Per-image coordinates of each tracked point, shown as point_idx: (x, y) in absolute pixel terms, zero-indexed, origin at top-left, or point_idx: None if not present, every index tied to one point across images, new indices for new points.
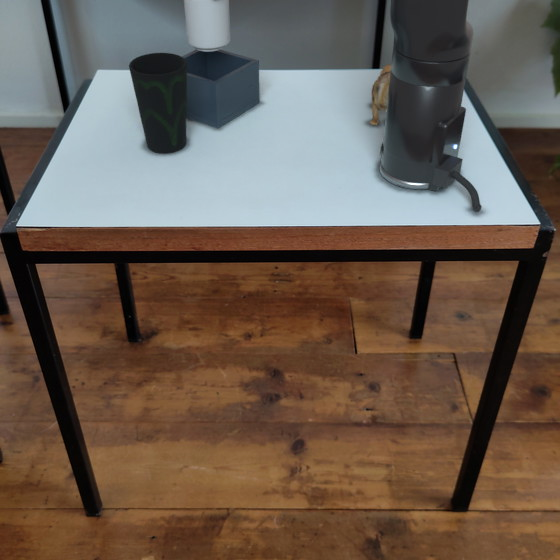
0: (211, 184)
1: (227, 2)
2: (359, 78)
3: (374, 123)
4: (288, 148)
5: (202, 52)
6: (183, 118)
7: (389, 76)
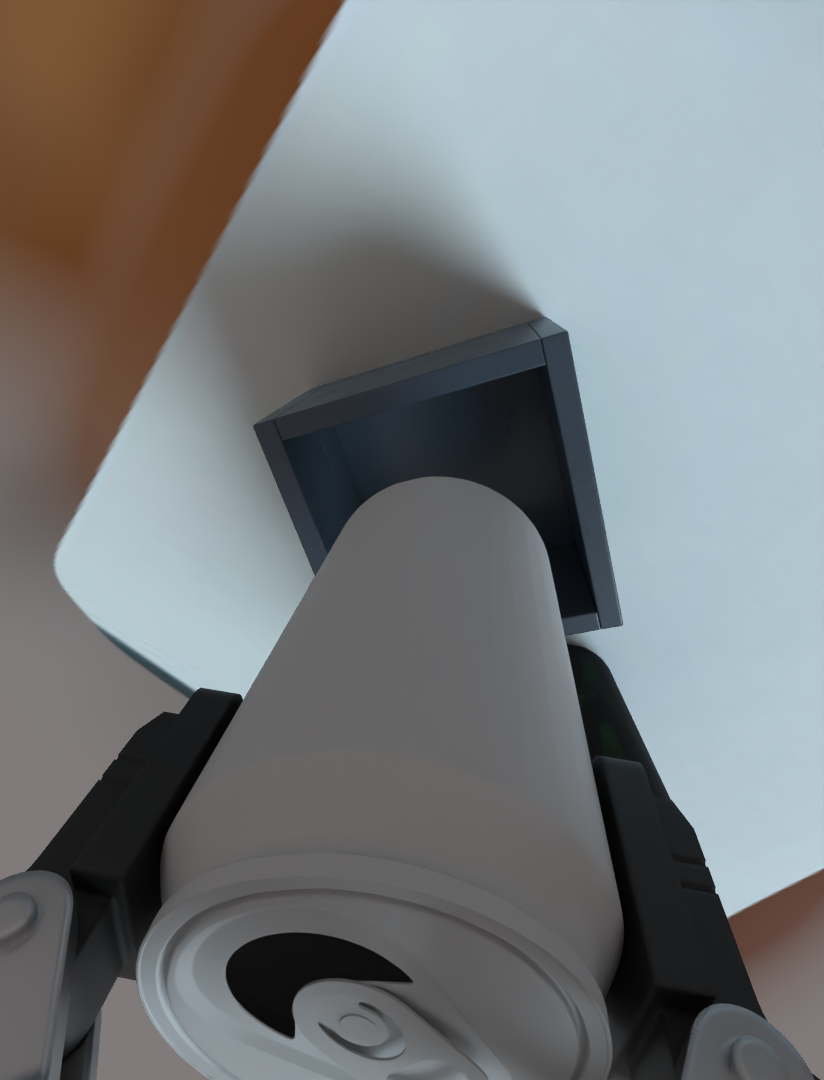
0: (811, 721)
1: (555, 649)
2: None
3: None
4: None
5: (295, 460)
6: (638, 731)
7: None
